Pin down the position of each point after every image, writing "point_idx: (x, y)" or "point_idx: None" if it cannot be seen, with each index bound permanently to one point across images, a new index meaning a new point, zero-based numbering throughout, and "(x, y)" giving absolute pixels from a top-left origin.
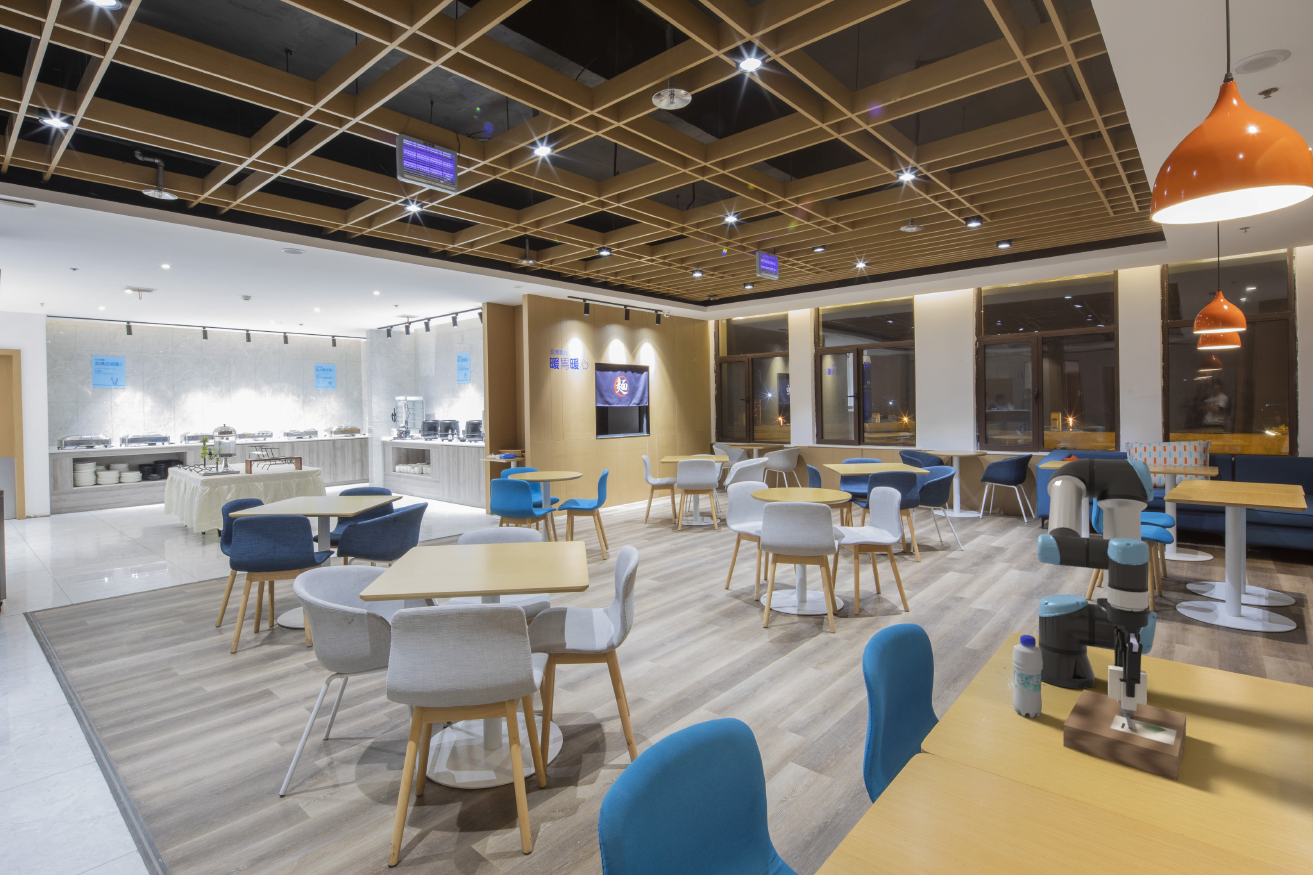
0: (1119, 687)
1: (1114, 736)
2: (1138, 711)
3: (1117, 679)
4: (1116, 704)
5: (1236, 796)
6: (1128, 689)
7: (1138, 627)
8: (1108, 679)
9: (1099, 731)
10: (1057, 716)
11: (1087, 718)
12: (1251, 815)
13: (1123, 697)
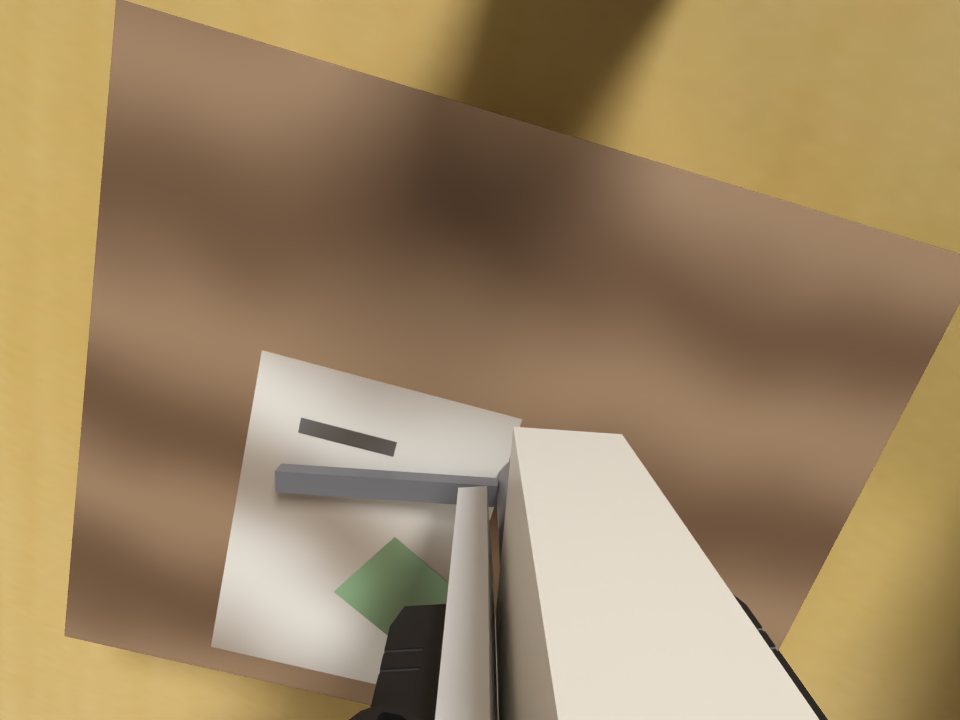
0: (514, 598)
1: (130, 357)
2: None
3: (521, 671)
4: (730, 453)
5: (153, 702)
6: (373, 697)
7: None
8: (627, 535)
9: (153, 270)
10: (665, 68)
11: (356, 214)
12: (29, 709)
13: (455, 561)
